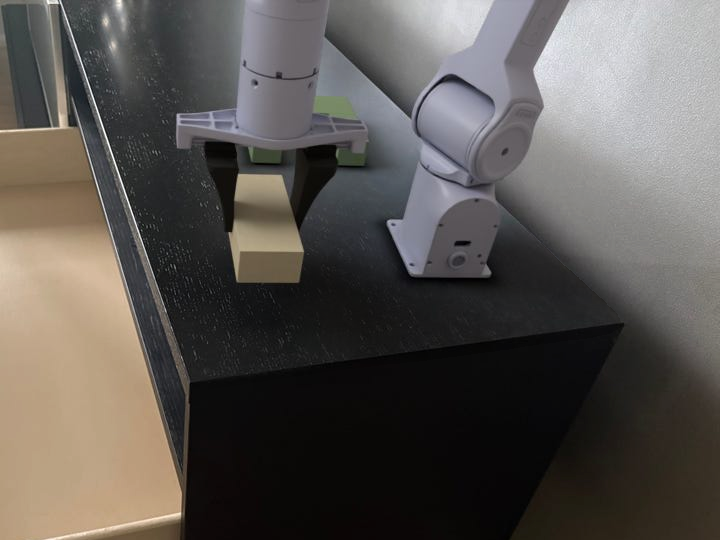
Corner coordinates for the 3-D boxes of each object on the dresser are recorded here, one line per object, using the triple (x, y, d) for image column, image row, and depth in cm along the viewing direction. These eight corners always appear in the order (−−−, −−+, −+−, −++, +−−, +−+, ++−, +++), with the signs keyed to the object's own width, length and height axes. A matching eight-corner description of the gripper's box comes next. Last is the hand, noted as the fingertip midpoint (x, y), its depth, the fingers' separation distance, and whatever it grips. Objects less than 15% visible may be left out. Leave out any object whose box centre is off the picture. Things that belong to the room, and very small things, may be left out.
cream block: (299, 283, 60) (304, 251, 58) (236, 282, 60) (240, 251, 58) (278, 204, 69) (281, 174, 67) (223, 203, 68) (225, 173, 66)
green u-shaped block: (364, 165, 86) (369, 141, 84) (251, 162, 84) (254, 137, 82) (342, 119, 95) (347, 96, 93) (240, 116, 93) (242, 92, 91)
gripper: (365, 47, 58) (336, 202, 67) (176, 39, 56) (172, 199, 65) (388, 85, 53) (353, 247, 62) (180, 76, 51) (175, 245, 60)
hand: (261, 226), depth 63 cm, fingers closed on cream block, 5 cm apart
